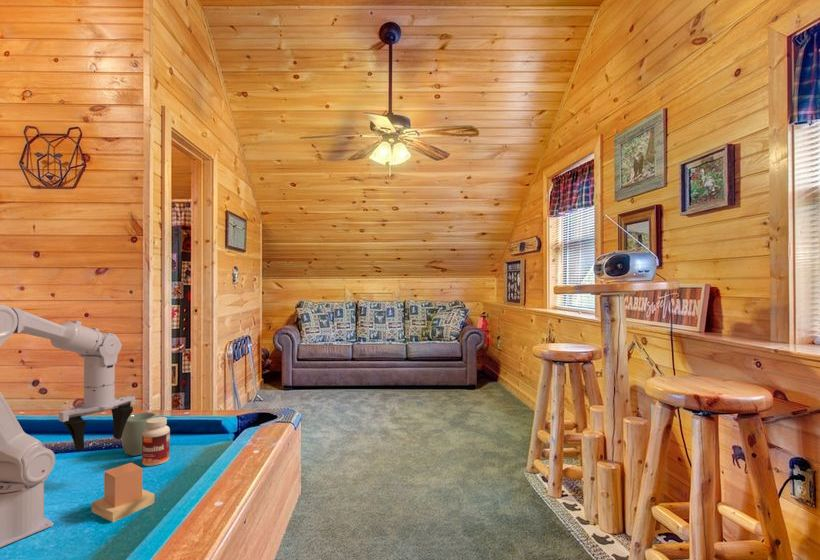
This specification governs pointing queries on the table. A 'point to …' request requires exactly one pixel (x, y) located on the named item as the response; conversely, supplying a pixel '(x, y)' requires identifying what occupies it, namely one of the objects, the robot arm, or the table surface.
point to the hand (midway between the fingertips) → (99, 443)
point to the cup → (135, 432)
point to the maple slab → (122, 507)
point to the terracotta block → (122, 484)
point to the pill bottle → (156, 442)
